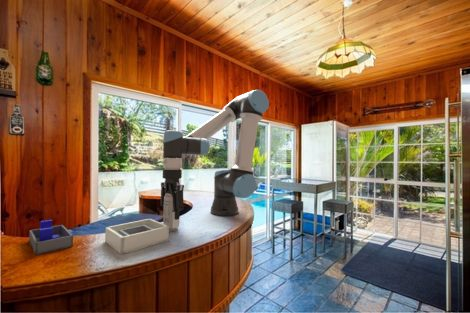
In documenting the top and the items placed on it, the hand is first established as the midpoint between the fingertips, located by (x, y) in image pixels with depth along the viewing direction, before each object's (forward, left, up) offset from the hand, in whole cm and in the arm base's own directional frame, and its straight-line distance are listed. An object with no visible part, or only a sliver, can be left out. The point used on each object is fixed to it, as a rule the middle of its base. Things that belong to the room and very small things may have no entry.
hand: (171, 225), depth 90 cm
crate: (+15, +3, -2) cm, 15 cm away
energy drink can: (0, 0, -2) cm, 2 cm away
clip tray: (+36, -15, -2) cm, 39 cm away
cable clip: (+36, -15, -1) cm, 39 cm away
